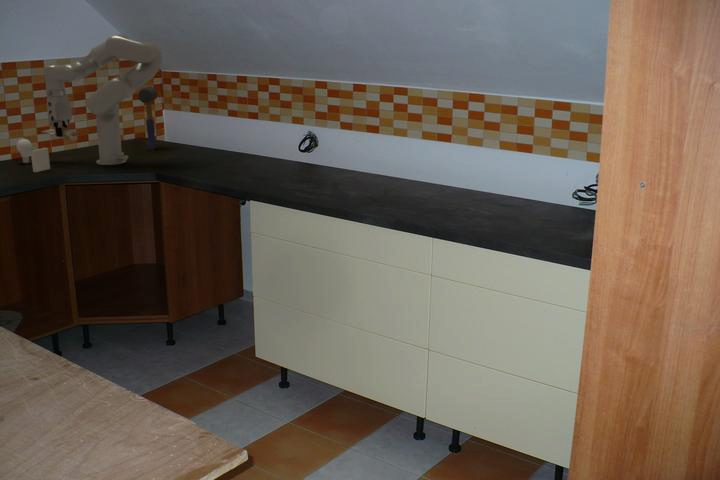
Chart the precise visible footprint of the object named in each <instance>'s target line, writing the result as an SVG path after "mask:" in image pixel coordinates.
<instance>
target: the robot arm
mask: <svg viewBox="0 0 720 480" xmlns="http://www.w3.org/2000/svg"><path fill="white" fill-rule="evenodd" d="M162 58H163V57H162V51H161V49H160V47H159V46H158V44H157V43H154V42H152V41H144V42H140V41H137V40H134V39H133V40H132V39H131V38H129V36H127V35H126V34H121V33H119V34H112V35H110V36H109V37H107V39H106V41H103V42H102V43H100V44H98V45H96V46H95V47H93V48H92V49H91V50H90V52H89V53H88V54H87V55H86V56H84V57H82V58H80V59H79V60H77V61H75V62H71V63H66V64H62V65H61V64H47V65H45V66H43V73H44V78H45V79H44V80H45V89H46V96H47V98H46V99H47V100H46V108H47V109H46V110H47V116H48V123H49V124H51V125H52V126H53V128H54V130H56V136H55V137H56V138H57V137H58V138H61V137H63V134H62V128H60V126H63V127H65V128H69V123H70V122H71V120H72V119H73V112H72V107H71V106H72V105H71V103H70V100H69V99H70V98H69V97H68V96H67V94H66V93H67V92H66V85H65V83H72V82H76V81H80V80H82V79H84V78H86V77H88V76H90V75H91V74H93V73H95V72H97V71H99V70H100V69H102V68H104V67H105V66H107V65H109V64H111V63H112V62H114V61H115V60H117V59H124V60H127V61H130V62H132V63H133V62H134V63H136V64H135V65H133V66H132V67H131V68H130V69H129V70H128V71H126V72H125V73H124V74H121V75H119V76H115V77H113V78H111V79H109V80H108V81H107V82H105V83H104V84H103V85H102V86H101V87H100V88H98V89H96V90H95V91H93V93H92V94H90V96H89V97H88V100H87V103H86V105H87V109H88V110H89V112H90V113H92V114H94V115H96V131H97V133H96V134H97V142H98V143H97V144H98V153H99V159H97V160H96V164H97V165H101V166H113V165H114V166H116V165H121V164H124V163H126V162H127V160H128V158H129V155H125V153H124V151H122V141H121V139H122V138H121V128H120V103H121V102H122V101H124V100H125V99H129V98H130V97H132V96H133V94H135V92H137V91H139V89H142V88H143V86H145V84H146V83H148V82H149V81H150V80H151V79H152V78H154V77H155V75H156V74H157V73H158V71H159V69H160V68H161V65H162Z"/></svg>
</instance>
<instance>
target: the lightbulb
mask: <svg viewBox="0 0 720 480" xmlns="http://www.w3.org/2000/svg"><path fill="white" fill-rule="evenodd" d="M15 145H16V150H17V151H18V152H19V154H20V156H21V158H22V163H24V164H27V165H28V164H29V163H30V154H31V151H32V148H33V145H32V142H31V141H30V139H27V138H21V139H19V140H18V141H16V144H15Z"/></svg>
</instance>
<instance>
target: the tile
mask: <svg viewBox="0 0 720 480" xmlns="http://www.w3.org/2000/svg"><path fill="white" fill-rule="evenodd" d="M30 156H31V157H30V158H31V164H32V165H31V166H32V172H33V173H39V172H42V171H47V170H51V165H50V164H51V163H50V153H49V148H48V147H42V148H38V149H33V150H32V149H31V151H30Z"/></svg>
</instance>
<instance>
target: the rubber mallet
mask: <svg viewBox="0 0 720 480" xmlns="http://www.w3.org/2000/svg"><path fill="white" fill-rule="evenodd" d="M158 96H159V92H158V90H157V89H156V88H155V86H144V87H142V88H140V90H138V93H137V98H138V100H139V101H140V102H141V103H143V104H145V107H146V108H145V109H146V125H145V126H146V134H147V148H148V149H149V150H151V151H154V150H156V148H157V143H156V135H155V134H156V133H155V132H156V127H155V121H154V119H153V108H152V103H153V102H154V101H155V100H156V99H157V98H158Z"/></svg>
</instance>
